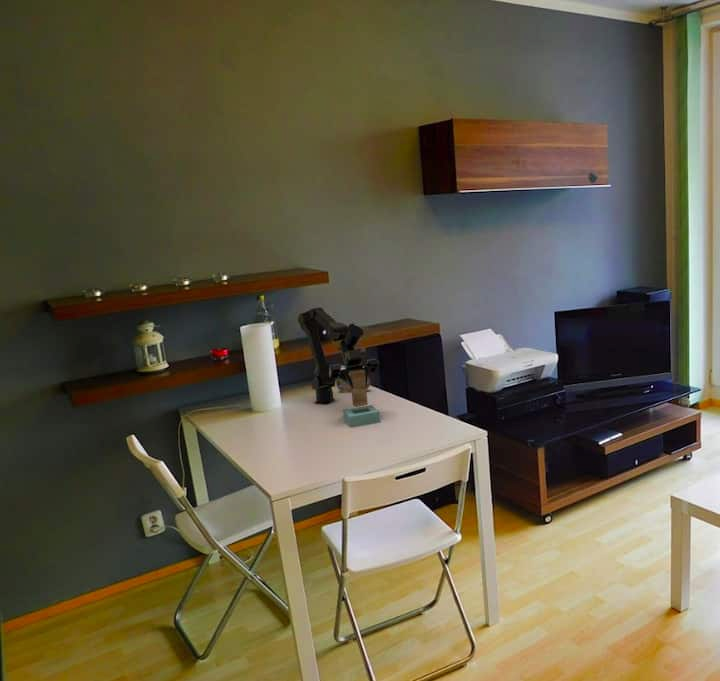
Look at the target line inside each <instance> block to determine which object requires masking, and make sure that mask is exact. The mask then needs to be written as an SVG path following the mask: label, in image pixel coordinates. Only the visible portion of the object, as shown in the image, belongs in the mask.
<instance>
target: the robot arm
mask: <svg viewBox="0 0 720 681" xmlns="http://www.w3.org/2000/svg"><path fill="white" fill-rule="evenodd" d="M297 322H298V324H299V326H300V329H301V330H302V332H304V333H305V334H306V337H307V341H308V344H309V348H310V352H311V354H312V359H313V363H314V366H315V367H314V371H313V377H314V378H313V380H312V381H311V384H310V385H311V389H312V390H314V391H315V398H316V401H314V404H322V405H327V404H330V403H332V402H334V401H335V400H336V399H335V398H334V391H333V389H332V388H334V387H335V386H336V379H338V378H339V379H342V380H343V381H344V382H346V383H347V384H348V385H349V386H350V388H351V389H353V384H352V381H351V379H350V376H349V374H350V371H356V370H364V371H365V378H366V387H367V378H368V377H369V375H370V373H371V374H372V373H376V372H377V371H378V369H379V366H380V363H379V360H378V359H377V358H372V359H367V360H366V363H362V362H363V361H362V359H363V357H366V356H367V350H366V347H365V346H364V347H359V349H357V348H356V346H358V344H359V343H360V341H361V339H362V338H363V336H364V330H363V329H362V328H361V327H360V326H359V325H355V323H349V325H346V324H344V323H342V322H339V321H336V320H335V319H334V318H333V317H332V316H330V315H329V314H328V313H327V312H326V311H325V310H324V308H323V307H319V306H318V307H315V308H314V307H313V308H310V309H309V310H307V311H304V312H302V313H299V315H298V317H297ZM320 326H322V327H323V328H324V329H325V330H326V331H327V332H328V337H329V338H330V339H331V341H332V342H334V343H337V342H339V344H338V345H339V346H338V351H340V352H341V356H342V362H343V363H344V365H341V363H337V364H331V365H329V364H328V362H327V360H326V356H325V352H324V349H323V348H324V347H323V345H322V342H321V338H320V335H319V327H320ZM361 363H362V364H361Z"/></svg>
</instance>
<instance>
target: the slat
mask: <svg viewBox="0 0 720 681" xmlns="http://www.w3.org/2000/svg"><path fill="white" fill-rule="evenodd" d="M349 374H350V379H351V381H352V384H353V389H351V391H352V393H351V399H352V406H353V408H358V407H364V406H369V405H368V393H367V390H366V378H365V371H364V370H356V371H349Z"/></svg>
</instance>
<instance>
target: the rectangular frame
mask: <svg viewBox="0 0 720 681" xmlns="http://www.w3.org/2000/svg"><path fill="white" fill-rule="evenodd" d="M342 412H343V414H342V415H343V420H344V422H346V424H347V425H348V426H349V427H350V428H353V427H359V426H364V425H365V426H366V425H369V424H370V425H371V423H372V424H377V423H380V422H381V414H380V411H379V410H378V409H377V407H375V406H374V405H372V404H371V405H364V406H357V407H353V408H347V409H343V410H342Z"/></svg>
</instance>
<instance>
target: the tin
mask: <svg viewBox="0 0 720 681" xmlns="http://www.w3.org/2000/svg"><path fill="white" fill-rule="evenodd" d="M349 376H350V373H349ZM336 379H337V380H336V387H337V389H338V390H339V391H340V392H342V393H345V394H346V393H347V394H349V393H350V394H352V391H351V388H350V386H349V385H348V384H347V383H346V382H344V381H343V380H342V379H339V377H338V378H336ZM370 386H371V379H370V378H369V376H368V378H367V387H366V391H367V390H368V389H369V388H370Z"/></svg>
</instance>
